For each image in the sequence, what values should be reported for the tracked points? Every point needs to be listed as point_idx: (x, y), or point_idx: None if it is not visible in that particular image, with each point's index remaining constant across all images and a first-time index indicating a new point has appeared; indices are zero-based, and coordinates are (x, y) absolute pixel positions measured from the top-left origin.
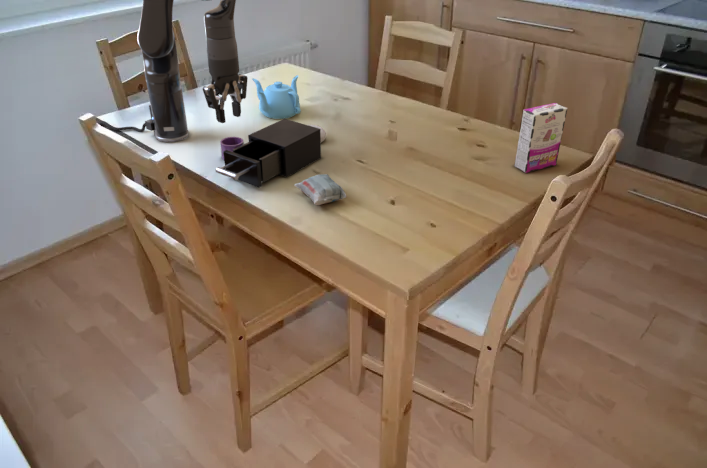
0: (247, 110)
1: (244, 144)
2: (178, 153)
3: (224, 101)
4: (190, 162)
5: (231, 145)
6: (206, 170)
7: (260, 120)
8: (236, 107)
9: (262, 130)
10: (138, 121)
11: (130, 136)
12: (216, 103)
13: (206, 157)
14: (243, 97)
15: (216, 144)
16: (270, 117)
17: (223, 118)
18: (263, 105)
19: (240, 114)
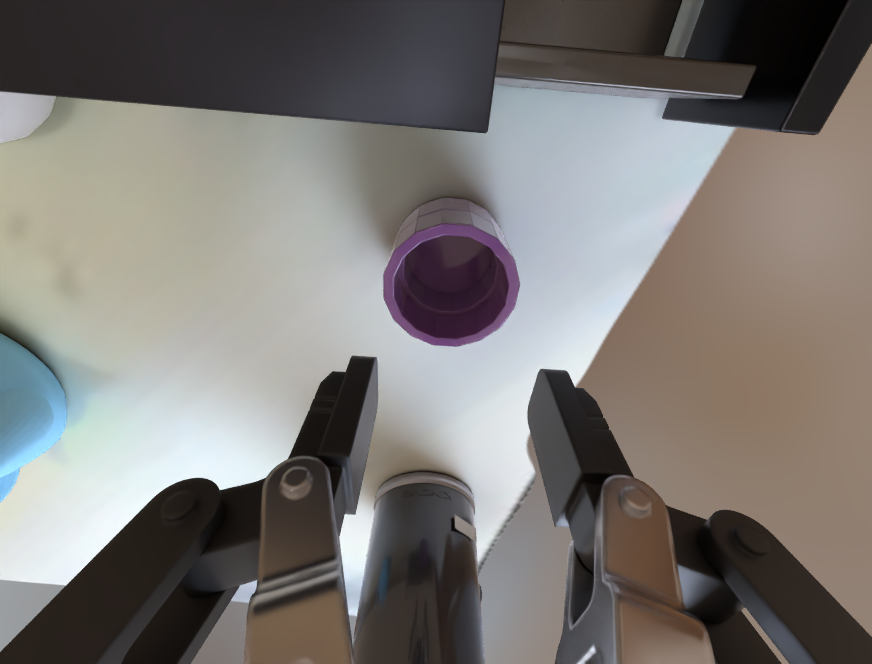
0: (107, 463)
1: (606, 73)
2: (517, 429)
3: (607, 577)
4: (565, 362)
5: (501, 256)
6: (611, 270)
7: (106, 389)
8: (360, 434)
9: (318, 76)
10: None
11: (485, 553)
12: (781, 604)
13: (500, 345)
14: (208, 502)
15: (386, 384)
16: (50, 373)
17: (575, 396)
18: (24, 428)
19: (349, 362)
